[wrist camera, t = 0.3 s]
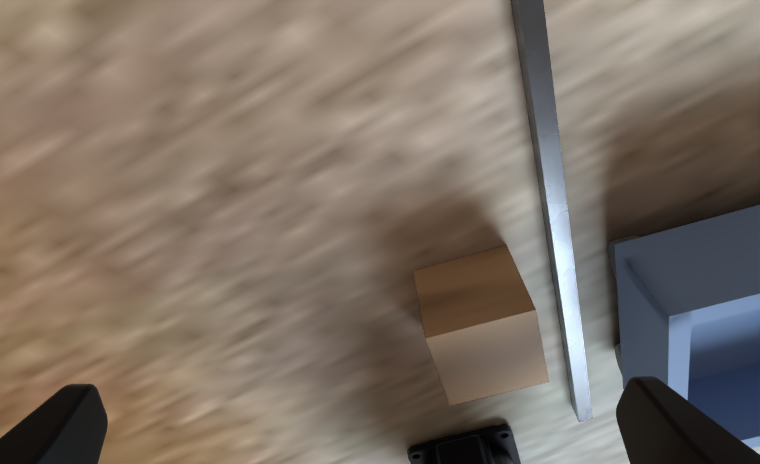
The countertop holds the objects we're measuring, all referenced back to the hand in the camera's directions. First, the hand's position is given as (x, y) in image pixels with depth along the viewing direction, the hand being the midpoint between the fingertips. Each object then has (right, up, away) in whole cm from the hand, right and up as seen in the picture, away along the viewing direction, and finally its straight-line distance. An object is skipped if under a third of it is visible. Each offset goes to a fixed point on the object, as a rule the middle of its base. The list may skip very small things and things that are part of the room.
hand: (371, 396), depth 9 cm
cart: (+16, 0, +17) cm, 23 cm away
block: (+5, 0, +17) cm, 17 cm away
